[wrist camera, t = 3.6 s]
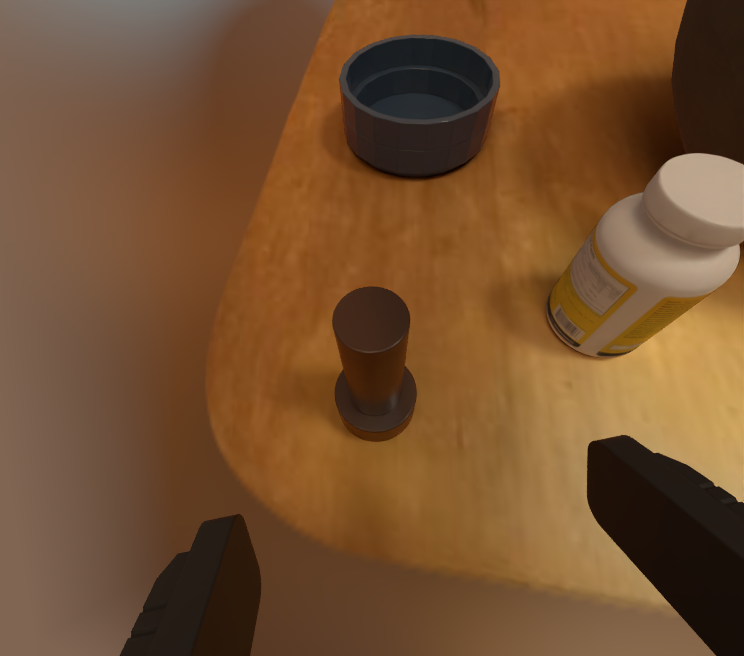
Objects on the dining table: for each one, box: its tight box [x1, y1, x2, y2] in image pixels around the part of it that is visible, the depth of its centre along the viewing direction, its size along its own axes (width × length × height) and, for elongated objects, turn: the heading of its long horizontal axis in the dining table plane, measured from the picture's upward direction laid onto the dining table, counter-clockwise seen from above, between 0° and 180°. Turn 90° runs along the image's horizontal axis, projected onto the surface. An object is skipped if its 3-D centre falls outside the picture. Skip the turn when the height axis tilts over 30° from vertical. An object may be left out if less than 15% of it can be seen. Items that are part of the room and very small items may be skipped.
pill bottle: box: [546, 153, 744, 358], centre depth 21 cm, size 6×6×12 cm
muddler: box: [332, 287, 417, 442], centre depth 19 cm, size 5×5×11 cm
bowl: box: [339, 35, 500, 177], centre depth 34 cm, size 14×14×6 cm
